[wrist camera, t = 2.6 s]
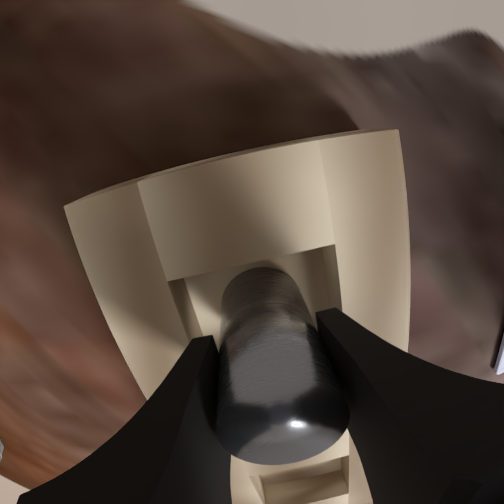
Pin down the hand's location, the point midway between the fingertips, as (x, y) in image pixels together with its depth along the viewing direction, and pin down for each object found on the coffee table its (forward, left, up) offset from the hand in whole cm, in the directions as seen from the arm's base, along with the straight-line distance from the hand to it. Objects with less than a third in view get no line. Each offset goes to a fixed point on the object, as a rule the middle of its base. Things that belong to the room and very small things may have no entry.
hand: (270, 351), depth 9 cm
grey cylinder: (0, 0, -3) cm, 3 cm away
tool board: (0, +5, -4) cm, 7 cm away
